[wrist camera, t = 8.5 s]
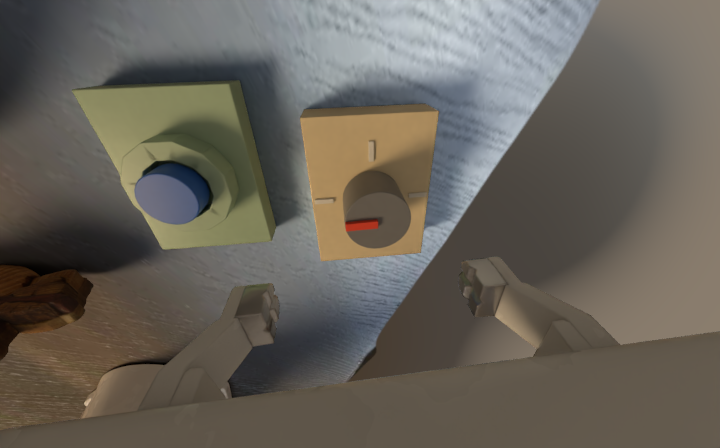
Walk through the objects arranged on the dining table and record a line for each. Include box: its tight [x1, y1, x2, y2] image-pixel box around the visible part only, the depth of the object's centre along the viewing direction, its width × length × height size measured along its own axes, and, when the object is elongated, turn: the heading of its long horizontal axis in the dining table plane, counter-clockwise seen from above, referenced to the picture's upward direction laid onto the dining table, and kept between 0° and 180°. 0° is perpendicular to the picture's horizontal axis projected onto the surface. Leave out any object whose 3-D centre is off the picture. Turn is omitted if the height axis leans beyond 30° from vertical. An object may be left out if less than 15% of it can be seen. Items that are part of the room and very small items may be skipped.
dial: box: [343, 171, 411, 249], centre depth 18 cm, size 4×4×4 cm
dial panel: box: [300, 104, 439, 261], centre depth 21 cm, size 12×9×3 cm
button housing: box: [72, 80, 276, 250], centre depth 19 cm, size 12×9×4 cm
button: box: [134, 163, 210, 225], centre depth 17 cm, size 4×4×2 cm
